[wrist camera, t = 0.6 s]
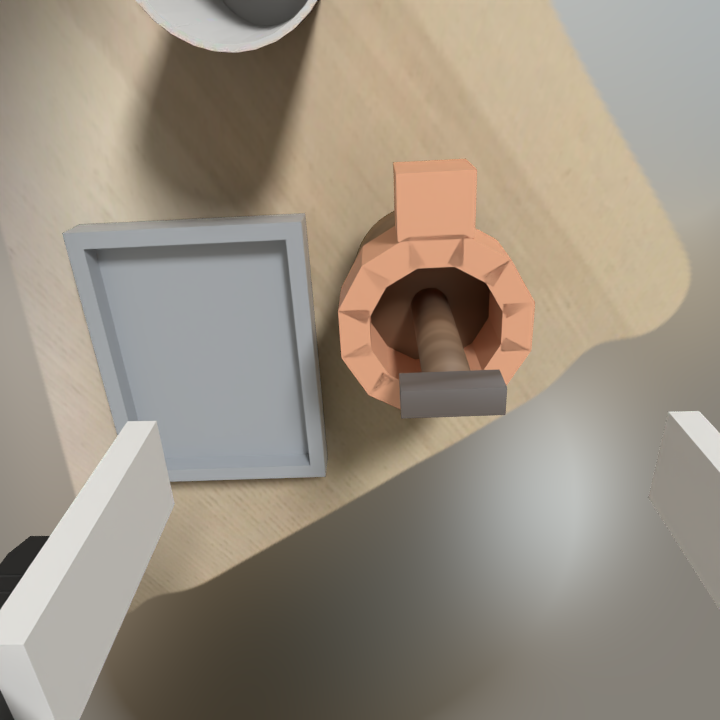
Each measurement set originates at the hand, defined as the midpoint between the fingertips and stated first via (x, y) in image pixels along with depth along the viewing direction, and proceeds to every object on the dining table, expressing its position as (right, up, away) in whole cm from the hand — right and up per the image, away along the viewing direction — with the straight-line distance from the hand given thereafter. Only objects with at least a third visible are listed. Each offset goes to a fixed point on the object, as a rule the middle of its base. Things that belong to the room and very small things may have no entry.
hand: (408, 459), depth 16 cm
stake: (+3, +8, +22) cm, 24 cm away
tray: (-11, +3, +25) cm, 27 cm away
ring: (+2, +7, +16) cm, 17 cm away
